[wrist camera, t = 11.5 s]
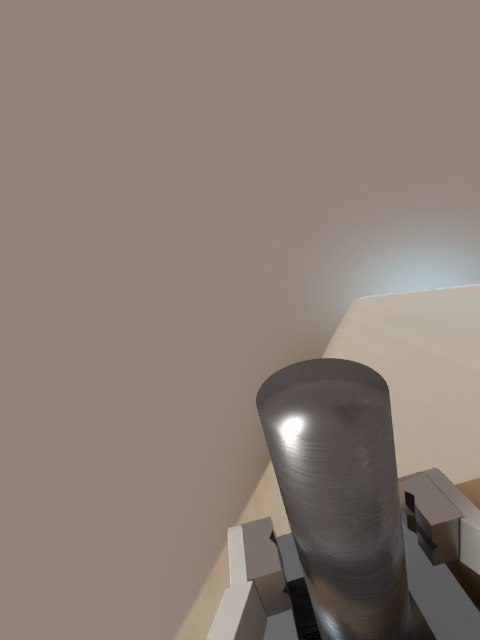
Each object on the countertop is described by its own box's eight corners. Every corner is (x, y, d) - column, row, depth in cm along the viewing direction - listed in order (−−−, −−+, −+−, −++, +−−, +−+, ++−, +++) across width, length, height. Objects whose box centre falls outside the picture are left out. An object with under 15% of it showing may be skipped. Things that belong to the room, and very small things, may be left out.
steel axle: (389, 639, 13) (347, 348, 8) (442, 758, 10) (423, 410, 5) (327, 659, 13) (248, 376, 8) (361, 784, 10) (270, 455, 5)
